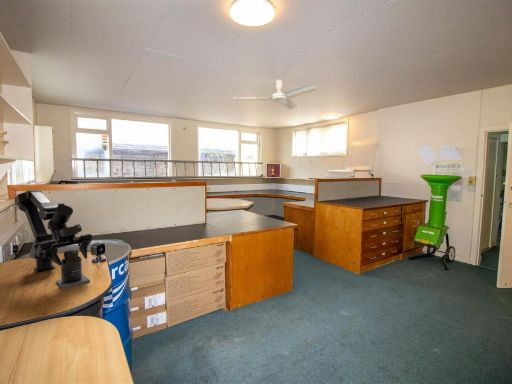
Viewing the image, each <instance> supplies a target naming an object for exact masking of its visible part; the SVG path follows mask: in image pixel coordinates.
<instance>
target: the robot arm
mask: <svg viewBox="0 0 512 384" xmlns="http://www.w3.org/2000/svg"><path fill="white" fill-rule="evenodd" d="M14 204H15V205H16V206H17V208H18V210H20V211H21V212H23V213H25V216H26V219H27V221H28V224H29V227H30V229H31V230H30V231H31V232H32V235H33V237H34V240H33V242H32V246H31V248H30V250H29V256H30V258H31V259H34V260H35V267H33V270H34V271H35V272H37V273H41V272H44V271H48V270H53V269H55V268H56V266H54V264H53V262H54V263H55V264H56V265H57V266H60V267H61V265H62V263H61V260H62V259H61V258H60V256H58V255H59V254H58V249H60V248H65V247H70V246H75V245H77V246H78V247H79V248H78V250H79V251H80V253H81V255H82V256H83V258H84V259H85V260H87V259H88V246H90V244H91V242H92V241H93V239H94V237H93V235H92V234H90V233H87V234H82V235H80V236H79V238H78V239H76V235H78V234H79V233H81V232H82V230H83V229H82V226H81V224H79V223H77V224H74V225H73V226H68V225H67V223H69V220H70V219H71V217H72V215H73V213H74V210H73V208H72V207H71V206H69V205H66V204H65V203H58V204H57V203H54V202H51V201H50V200H49V199H48V198H47V197H46V196H45V195H44V194H43V192H42V190H41V189H28V190H25V191H24V192H22V193H18V194H16V196H15V197H14ZM43 221H48V222H47V226H46V227H47V229H46V227H45V224H44V222H43ZM48 230H49V231H50V233H48V232H47V231H48Z"/></svg>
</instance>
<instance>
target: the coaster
mask: <svg viewBox="0 0 512 384" xmlns="http://www.w3.org/2000/svg"><path fill="white" fill-rule="evenodd" d="M55 282H56V284H57V285H58V286H59V287H60V288H61V289H62V290H68V289H71V288H74V287H77V286H81V285H84V284H88V283H90V282H91V280H90V278H88V277H87V276H86V275H85V274H83V273H82V278H81V279H80V280H79V281H76V282H73V283H63V282H62V279H61V278H60V279H56V281H55Z"/></svg>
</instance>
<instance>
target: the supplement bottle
mask: <svg viewBox="0 0 512 384" xmlns="http://www.w3.org/2000/svg"><path fill="white" fill-rule="evenodd" d="M60 260H61V263H62V265H61V266H60V272H61V273H60V275H61V278H60V279H62V282H63V283H73V282H76V281H79V280H80V279H81V278H82V274H83V268H82V266H83V265H82V262H83V261H82V257H81V256H80V255H79V249H69V250H65V251H63V258H62V259H60Z"/></svg>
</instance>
